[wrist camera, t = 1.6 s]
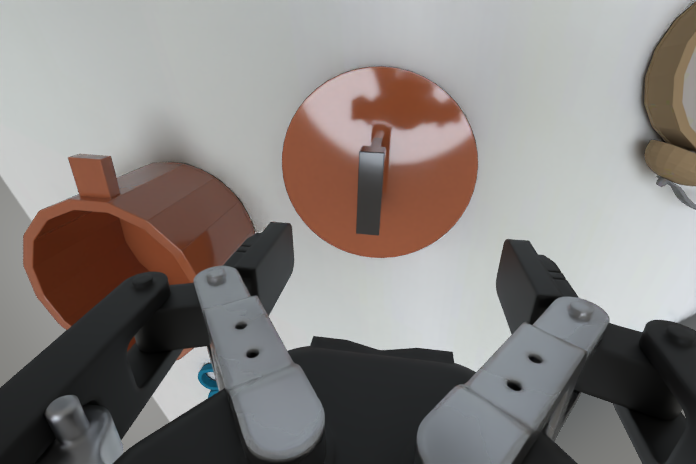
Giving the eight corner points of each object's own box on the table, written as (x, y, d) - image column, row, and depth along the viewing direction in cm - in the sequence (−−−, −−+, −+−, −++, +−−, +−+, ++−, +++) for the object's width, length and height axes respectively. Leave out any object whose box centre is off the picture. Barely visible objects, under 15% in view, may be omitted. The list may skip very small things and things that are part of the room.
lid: (290, 243, 36) (266, 280, 30) (281, 62, 29) (248, 65, 23) (459, 259, 34) (469, 302, 28) (493, 69, 27) (516, 74, 21)
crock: (140, 306, 42) (68, 374, 33) (91, 127, 33) (-24, 154, 25) (263, 322, 40) (222, 398, 31) (246, 136, 32) (181, 168, 23)
